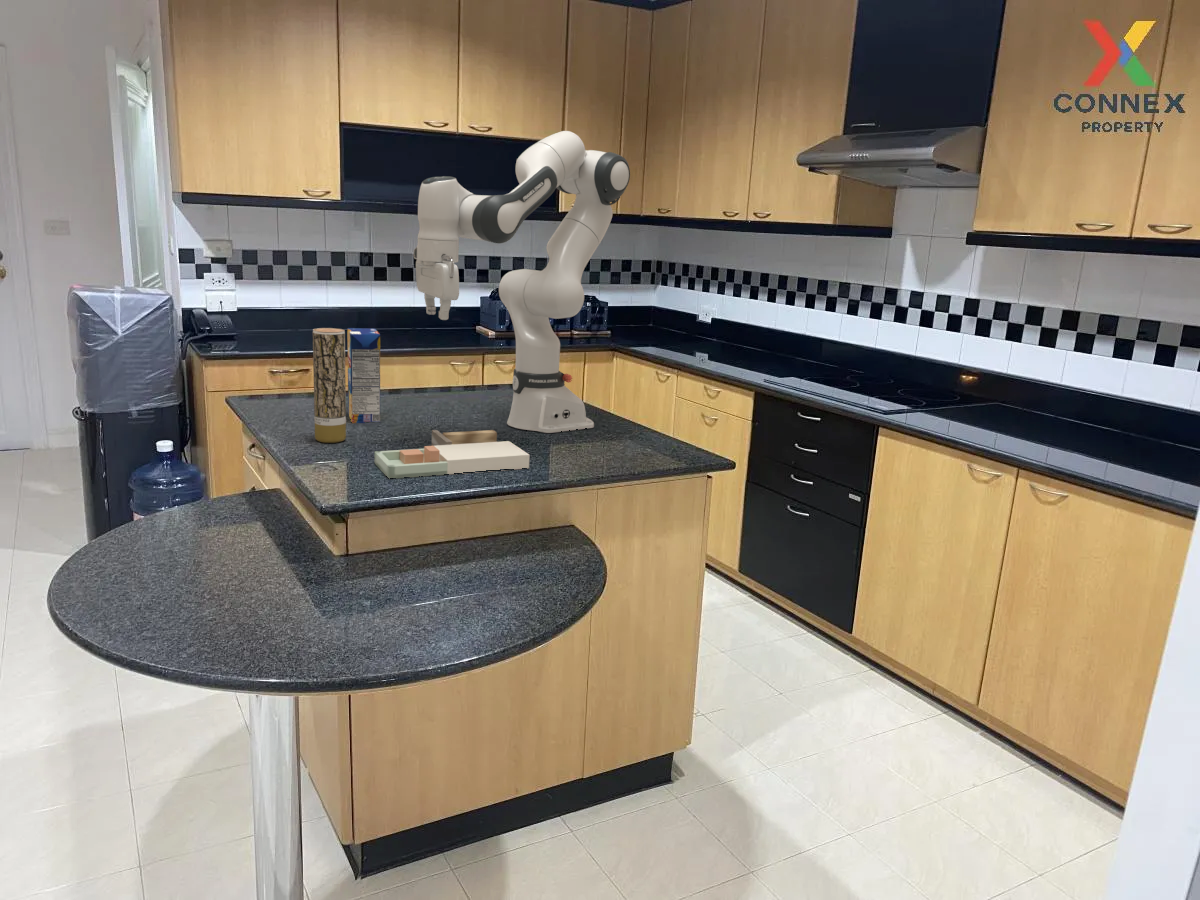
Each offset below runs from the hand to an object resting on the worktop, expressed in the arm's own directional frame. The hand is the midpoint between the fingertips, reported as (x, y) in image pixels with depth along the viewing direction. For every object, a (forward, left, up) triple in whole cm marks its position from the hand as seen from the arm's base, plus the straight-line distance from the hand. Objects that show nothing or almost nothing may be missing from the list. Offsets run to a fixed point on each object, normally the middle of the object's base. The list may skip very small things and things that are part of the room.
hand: (437, 316), depth 198 cm
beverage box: (+10, -28, -29) cm, 42 cm away
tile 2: (+6, +22, -26) cm, 35 cm away
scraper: (-5, +7, -29) cm, 30 cm away
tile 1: (+10, +16, -26) cm, 33 cm away
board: (-4, +19, -29) cm, 35 cm away
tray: (+11, +19, -29) cm, 36 cm away
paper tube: (+22, -8, -29) cm, 37 cm away
